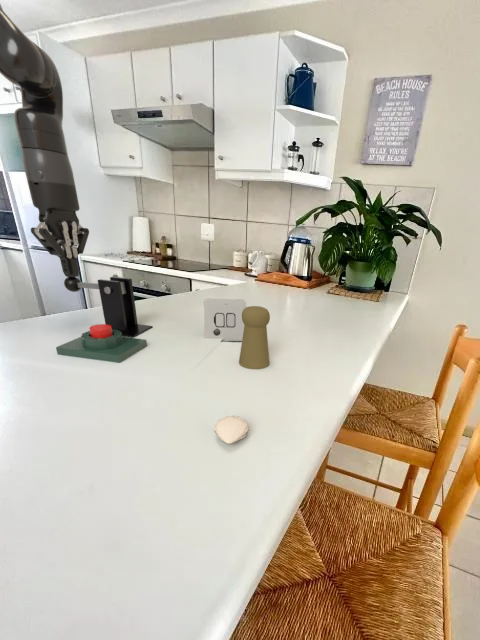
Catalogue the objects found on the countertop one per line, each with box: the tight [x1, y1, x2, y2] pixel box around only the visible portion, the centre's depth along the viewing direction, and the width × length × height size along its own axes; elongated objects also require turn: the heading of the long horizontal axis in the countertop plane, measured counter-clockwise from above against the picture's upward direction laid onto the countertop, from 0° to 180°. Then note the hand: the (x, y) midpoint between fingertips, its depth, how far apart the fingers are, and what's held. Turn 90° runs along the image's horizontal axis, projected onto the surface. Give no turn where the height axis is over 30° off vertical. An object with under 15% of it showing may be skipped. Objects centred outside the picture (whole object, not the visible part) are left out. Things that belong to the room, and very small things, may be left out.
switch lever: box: [63, 277, 126, 295], centre depth 69 cm, size 13×3×3 cm, turn 82°
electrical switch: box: [203, 297, 247, 342], centre depth 73 cm, size 9×5×9 cm, turn 102°
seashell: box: [213, 415, 249, 445], centre depth 40 cm, size 4×5×2 cm
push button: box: [88, 323, 113, 338], centre depth 60 cm, size 4×4×2 cm
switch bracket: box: [97, 276, 154, 338], centre depth 70 cm, size 10×8×12 cm
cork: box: [238, 305, 271, 370], centre depth 61 cm, size 6×6×11 cm
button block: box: [55, 329, 148, 364], centre depth 61 cm, size 12×9×4 cm
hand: (72, 276), depth 68 cm, fingers closed
